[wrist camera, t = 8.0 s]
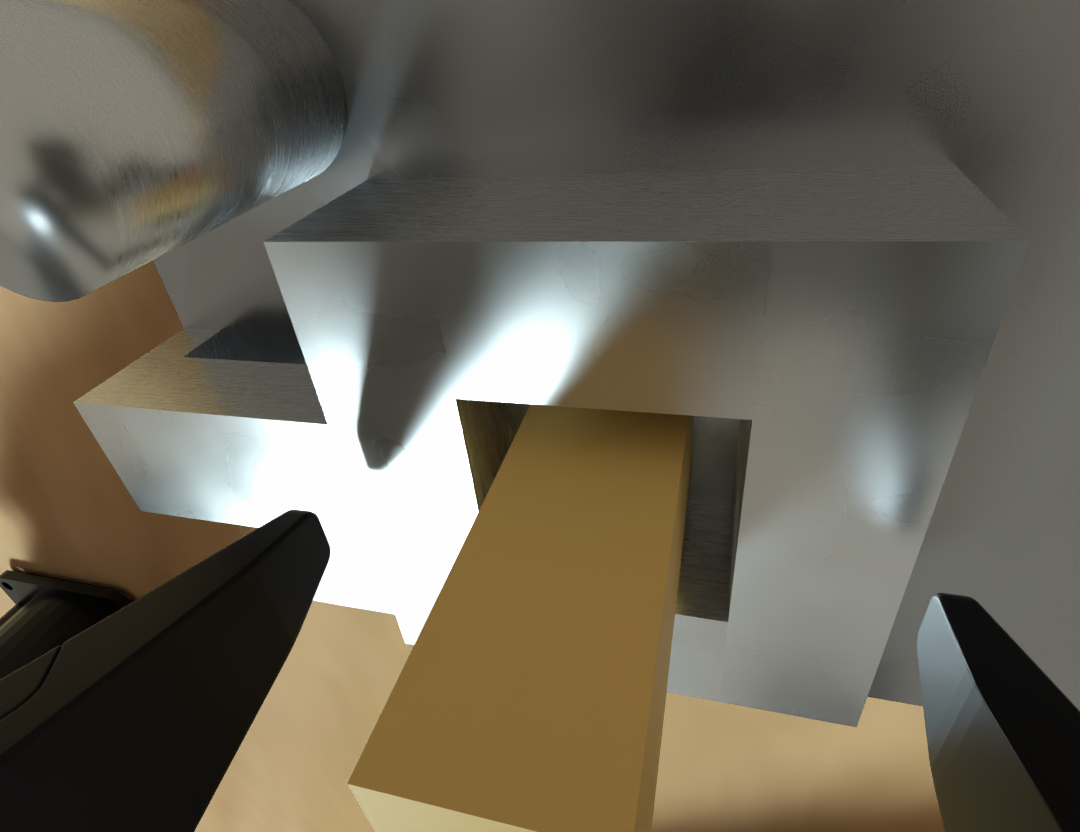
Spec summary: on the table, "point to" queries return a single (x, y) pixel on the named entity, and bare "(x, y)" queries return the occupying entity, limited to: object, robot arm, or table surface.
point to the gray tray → (593, 290)
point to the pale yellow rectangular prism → (545, 641)
